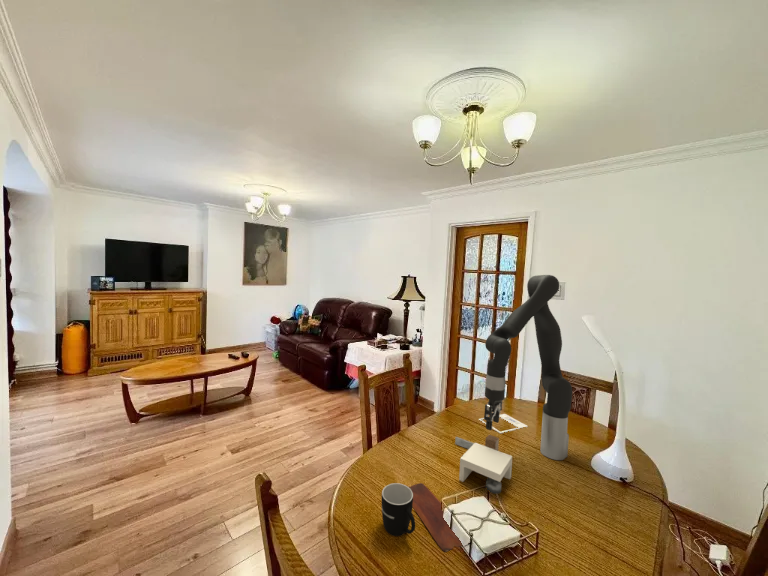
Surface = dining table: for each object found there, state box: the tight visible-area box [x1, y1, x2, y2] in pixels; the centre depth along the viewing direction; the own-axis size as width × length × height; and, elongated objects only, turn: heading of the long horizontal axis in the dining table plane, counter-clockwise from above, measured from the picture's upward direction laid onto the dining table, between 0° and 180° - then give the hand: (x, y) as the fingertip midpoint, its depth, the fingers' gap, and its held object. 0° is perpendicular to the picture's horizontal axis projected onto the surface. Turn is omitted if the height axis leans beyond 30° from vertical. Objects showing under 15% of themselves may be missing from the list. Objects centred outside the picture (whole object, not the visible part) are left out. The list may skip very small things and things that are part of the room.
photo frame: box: [478, 413, 529, 435], centre depth 158 cm, size 15×1×18 cm
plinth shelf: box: [458, 442, 513, 482], centre depth 114 cm, size 14×14×8 cm
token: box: [485, 477, 502, 495], centre depth 109 cm, size 5×5×2 cm
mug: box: [381, 482, 416, 537], centre depth 89 cm, size 12×9×10 cm
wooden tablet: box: [408, 482, 464, 553], centre depth 97 cm, size 27×10×2 cm, turn 23°
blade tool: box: [454, 434, 500, 451], centre depth 131 cm, size 18×4×8 cm, turn 53°
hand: (492, 425), depth 127 cm, fingers open, 8 cm apart
